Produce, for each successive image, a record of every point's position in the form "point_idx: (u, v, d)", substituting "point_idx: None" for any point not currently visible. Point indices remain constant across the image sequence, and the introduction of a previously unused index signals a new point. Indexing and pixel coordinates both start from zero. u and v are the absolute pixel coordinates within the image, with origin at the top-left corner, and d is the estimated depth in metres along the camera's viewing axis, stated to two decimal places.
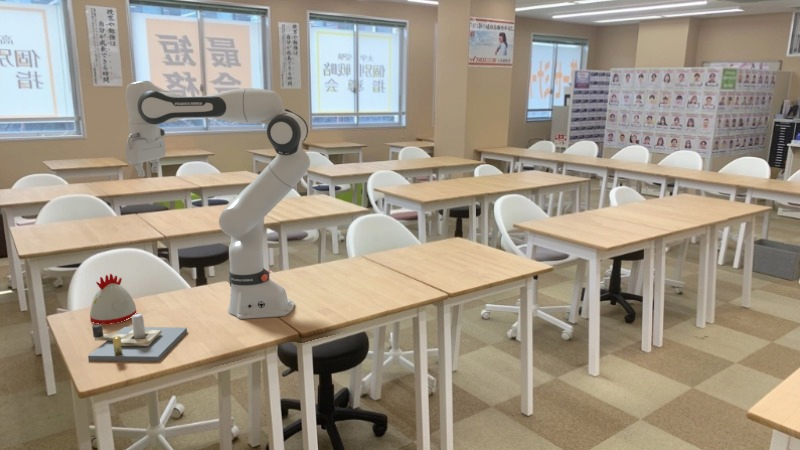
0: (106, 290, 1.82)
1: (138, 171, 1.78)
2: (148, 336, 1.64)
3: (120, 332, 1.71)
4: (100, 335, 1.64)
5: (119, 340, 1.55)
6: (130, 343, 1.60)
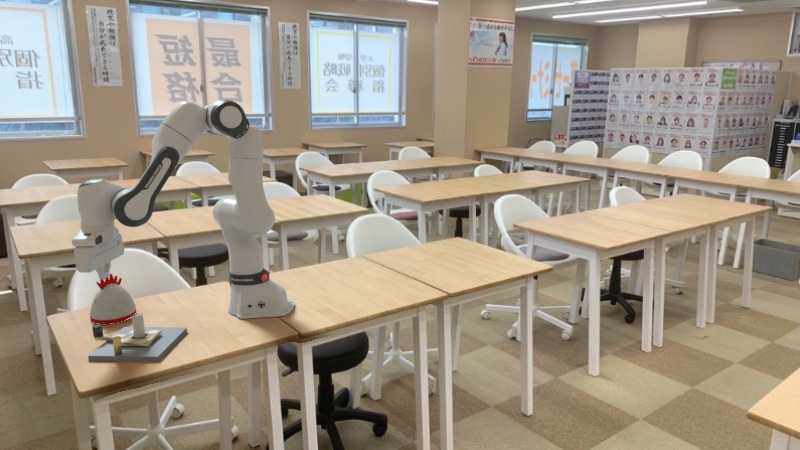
0: (106, 290, 1.82)
1: None
2: (148, 336, 1.64)
3: (120, 332, 1.71)
4: (100, 335, 1.64)
5: (119, 340, 1.55)
6: (130, 343, 1.60)
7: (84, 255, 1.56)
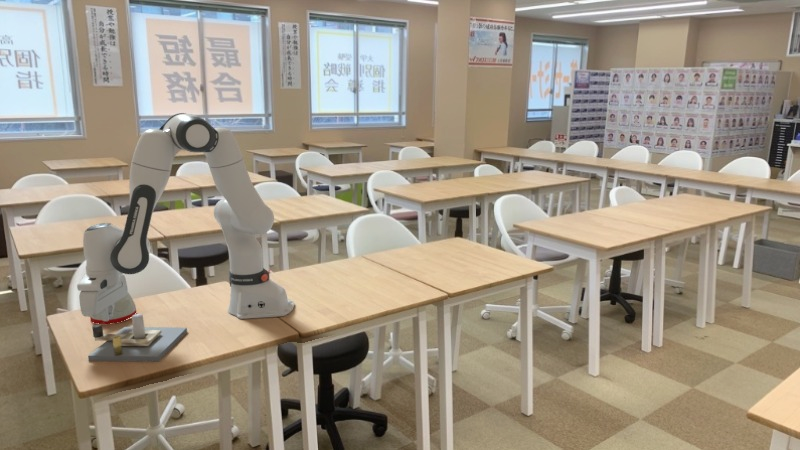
0: None
1: None
2: (148, 336, 1.64)
3: (120, 332, 1.71)
4: (100, 335, 1.64)
5: (119, 340, 1.55)
6: (130, 343, 1.60)
7: (89, 299, 1.59)
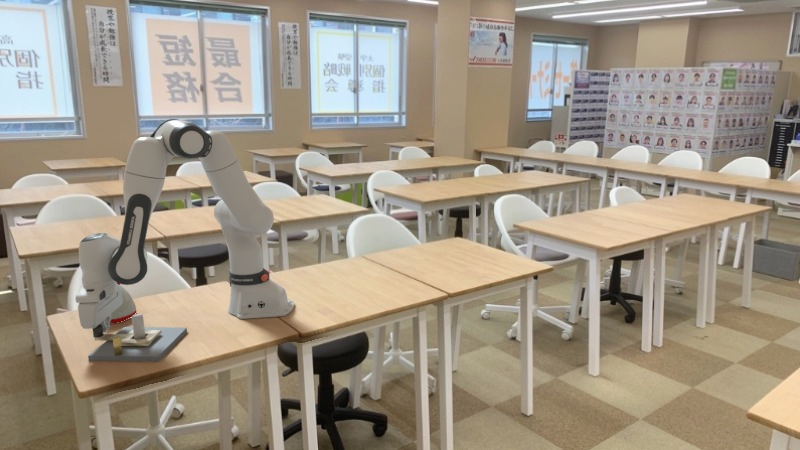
0: None
1: None
2: (148, 336, 1.64)
3: (120, 332, 1.71)
4: (100, 335, 1.64)
5: (119, 340, 1.55)
6: (130, 343, 1.60)
7: (89, 311, 1.57)
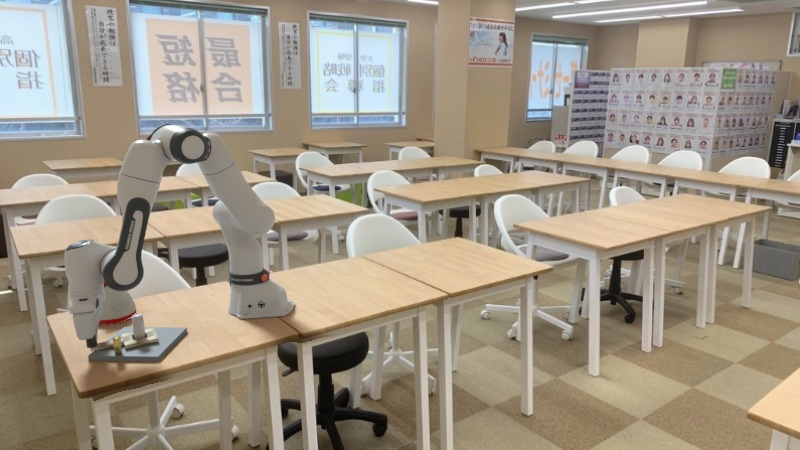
0: (106, 290, 1.82)
1: None
2: (149, 334, 1.66)
3: (120, 332, 1.71)
4: (96, 344, 1.58)
5: (119, 340, 1.55)
6: (140, 342, 1.61)
7: (87, 321, 1.50)
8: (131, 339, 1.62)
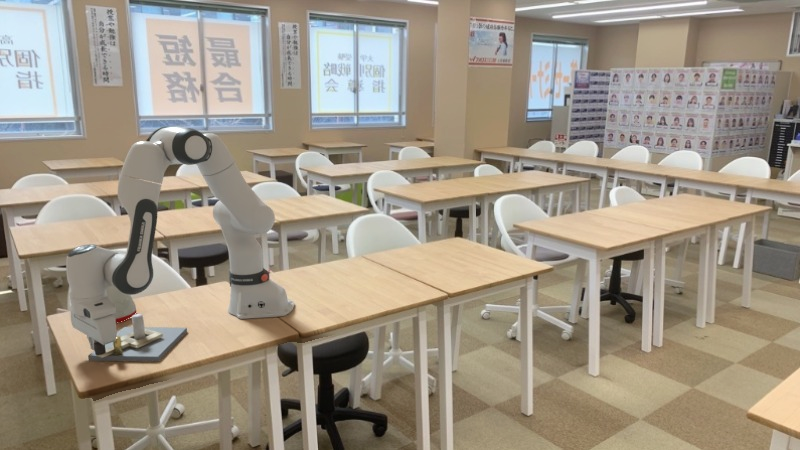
0: (106, 290, 1.82)
1: None
2: (147, 332, 1.67)
3: (120, 332, 1.71)
4: (105, 350, 1.54)
5: (119, 340, 1.55)
6: (148, 340, 1.62)
7: (111, 324, 1.48)
8: (135, 340, 1.62)
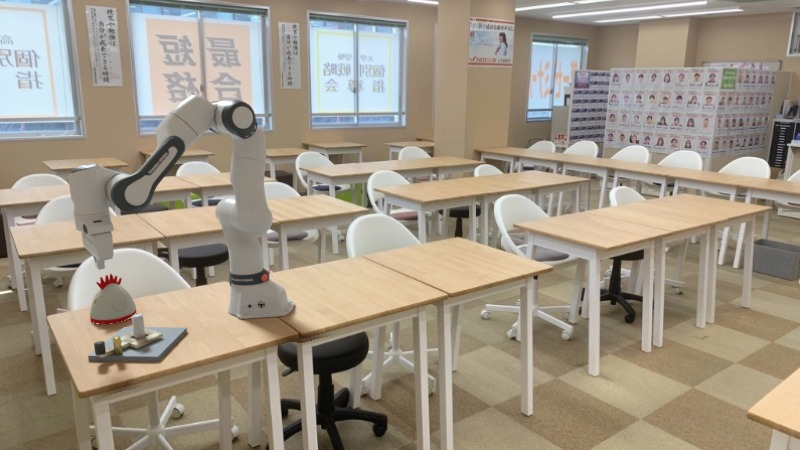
0: (106, 290, 1.82)
1: None
2: (147, 332, 1.67)
3: (120, 332, 1.71)
4: (105, 350, 1.54)
5: (119, 340, 1.55)
6: (148, 340, 1.62)
7: (107, 241, 1.51)
8: (135, 340, 1.62)
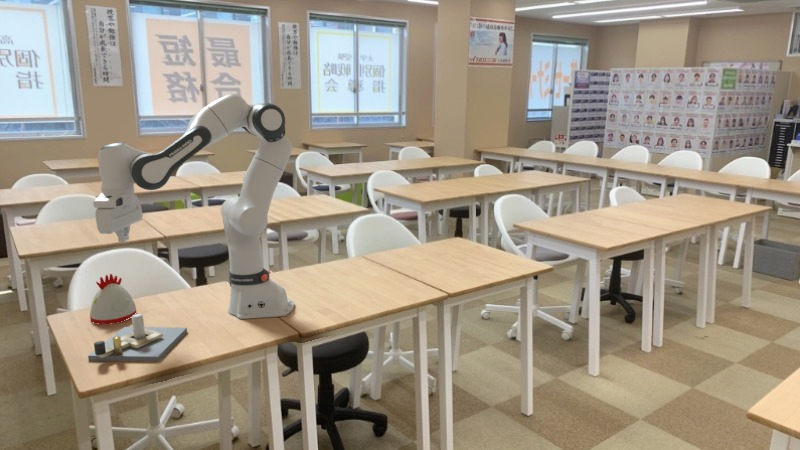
0: (106, 290, 1.82)
1: None
2: (147, 332, 1.67)
3: (120, 332, 1.71)
4: (105, 350, 1.54)
5: (119, 340, 1.55)
6: (148, 340, 1.62)
7: (106, 216, 1.59)
8: (135, 340, 1.62)
